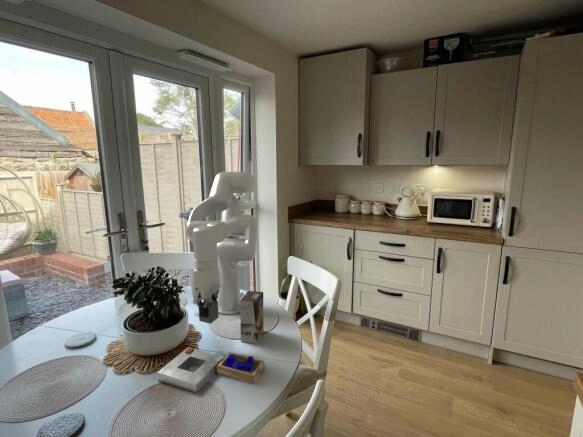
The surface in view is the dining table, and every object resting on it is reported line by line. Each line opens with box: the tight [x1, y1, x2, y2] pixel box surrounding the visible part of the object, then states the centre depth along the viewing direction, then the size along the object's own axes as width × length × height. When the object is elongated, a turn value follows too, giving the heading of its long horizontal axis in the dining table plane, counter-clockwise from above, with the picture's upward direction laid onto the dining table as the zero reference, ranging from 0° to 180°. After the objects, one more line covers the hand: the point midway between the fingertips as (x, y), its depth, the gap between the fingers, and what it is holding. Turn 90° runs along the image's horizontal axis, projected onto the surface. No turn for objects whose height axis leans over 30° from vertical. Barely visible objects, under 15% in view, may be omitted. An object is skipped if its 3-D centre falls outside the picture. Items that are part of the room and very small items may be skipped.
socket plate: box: [157, 346, 225, 393], centre depth 100 cm, size 14×14×3 cm
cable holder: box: [226, 353, 255, 372], centre depth 101 cm, size 8×4×4 cm, turn 83°
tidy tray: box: [216, 352, 266, 384], centre depth 100 cm, size 8×13×2 cm, turn 69°
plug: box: [198, 295, 220, 325], centre depth 109 cm, size 5×5×10 cm
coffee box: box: [239, 290, 265, 344], centre depth 119 cm, size 9×6×16 cm
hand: (208, 312), depth 110 cm, fingers closed on plug, 4 cm apart
